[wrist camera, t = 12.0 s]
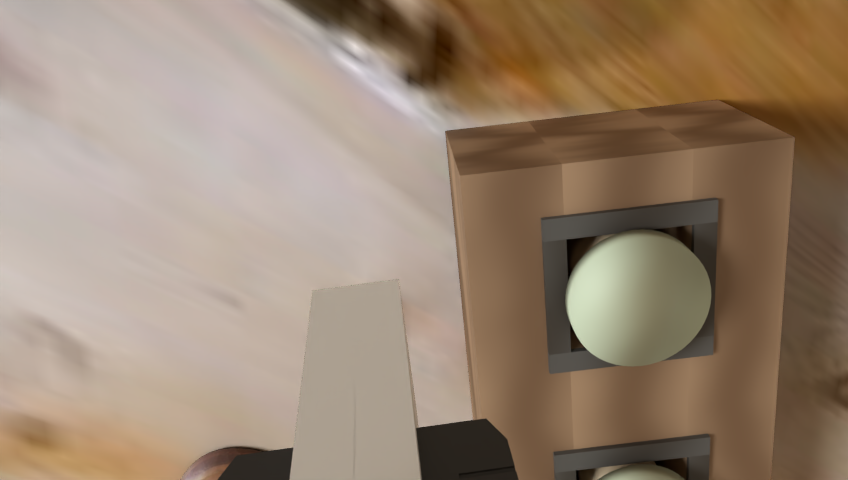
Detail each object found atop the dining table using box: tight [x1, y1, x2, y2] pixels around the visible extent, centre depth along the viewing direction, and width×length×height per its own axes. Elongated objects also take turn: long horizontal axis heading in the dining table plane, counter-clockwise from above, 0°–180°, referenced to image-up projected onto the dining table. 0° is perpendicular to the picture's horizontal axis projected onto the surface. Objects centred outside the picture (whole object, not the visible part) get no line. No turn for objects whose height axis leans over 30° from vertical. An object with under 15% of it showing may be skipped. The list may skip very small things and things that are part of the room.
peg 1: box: [565, 229, 711, 366], centre depth 37 cm, size 6×6×8 cm
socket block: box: [445, 100, 795, 480], centre depth 40 cm, size 14×24×8 cm, turn 6°
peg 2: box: [576, 461, 685, 480], centre depth 41 cm, size 6×6×8 cm
